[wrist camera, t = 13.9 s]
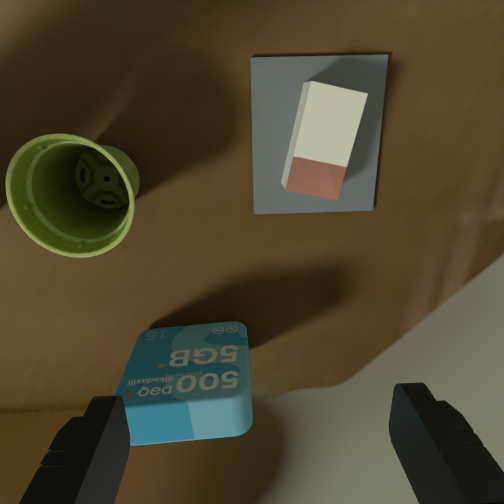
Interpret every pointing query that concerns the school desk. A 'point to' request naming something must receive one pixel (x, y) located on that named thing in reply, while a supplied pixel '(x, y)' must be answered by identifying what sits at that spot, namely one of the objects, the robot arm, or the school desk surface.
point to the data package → (188, 383)
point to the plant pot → (72, 194)
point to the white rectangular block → (322, 139)
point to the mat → (283, 119)
